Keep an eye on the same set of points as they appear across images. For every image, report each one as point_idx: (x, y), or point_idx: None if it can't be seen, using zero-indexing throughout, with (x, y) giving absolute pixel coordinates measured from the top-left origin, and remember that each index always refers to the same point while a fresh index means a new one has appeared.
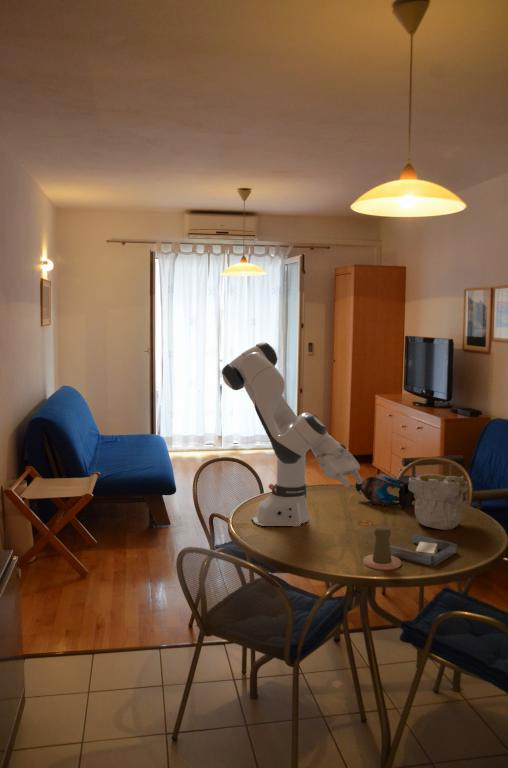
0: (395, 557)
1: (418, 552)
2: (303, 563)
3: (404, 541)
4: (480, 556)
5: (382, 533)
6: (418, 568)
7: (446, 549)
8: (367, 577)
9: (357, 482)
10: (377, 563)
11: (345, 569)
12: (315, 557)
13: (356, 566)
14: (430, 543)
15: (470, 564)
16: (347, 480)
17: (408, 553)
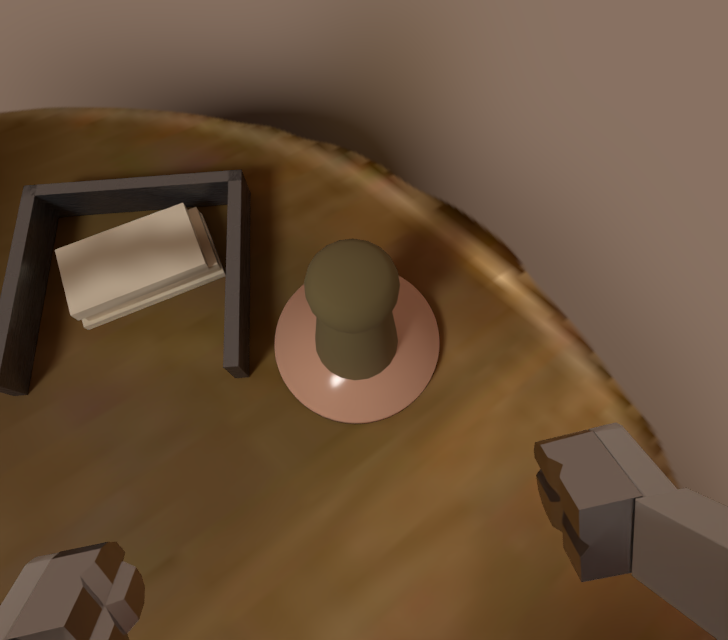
0: (283, 321)
1: (203, 254)
2: (659, 614)
3: (30, 432)
4: (39, 139)
5: (390, 257)
6: (303, 219)
7: (117, 182)
8: (527, 295)
9: (127, 614)
10: (400, 332)
11: (538, 407)
12: (548, 628)
13: (473, 395)
14: (68, 270)
15: (142, 127)
16: (623, 485)
17: (243, 275)
